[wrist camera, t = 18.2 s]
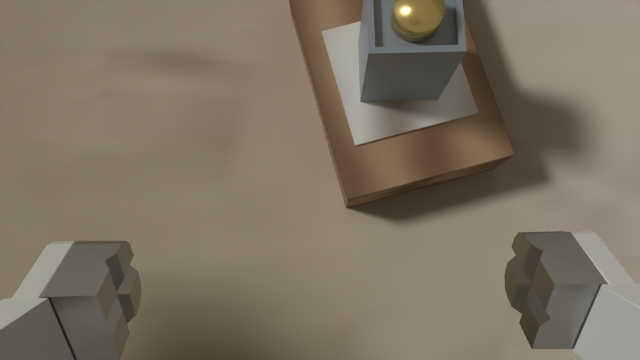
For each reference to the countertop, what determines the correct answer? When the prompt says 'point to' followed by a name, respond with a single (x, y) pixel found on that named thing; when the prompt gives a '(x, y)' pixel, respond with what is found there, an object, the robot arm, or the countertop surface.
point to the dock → (394, 113)
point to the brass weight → (417, 19)
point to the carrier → (407, 55)
